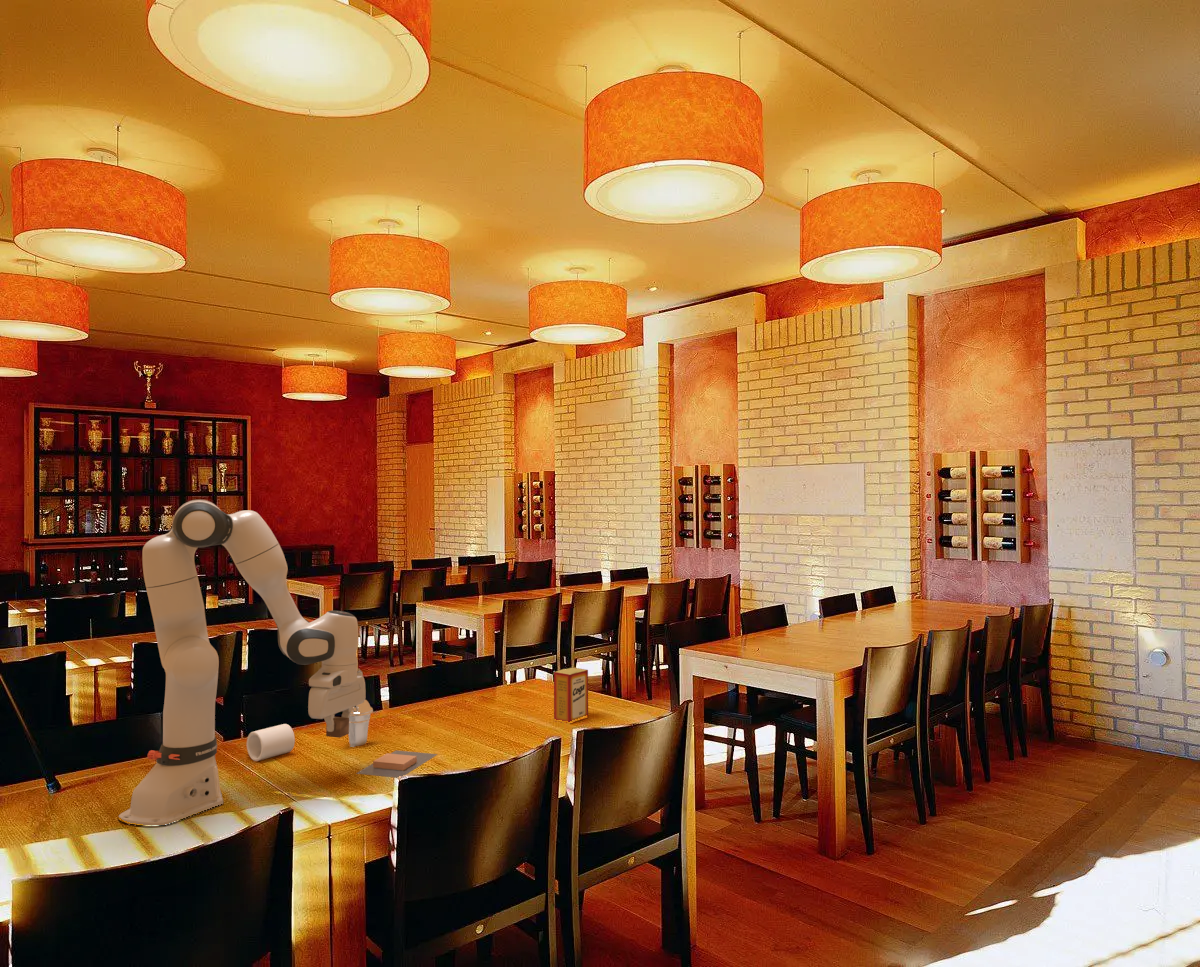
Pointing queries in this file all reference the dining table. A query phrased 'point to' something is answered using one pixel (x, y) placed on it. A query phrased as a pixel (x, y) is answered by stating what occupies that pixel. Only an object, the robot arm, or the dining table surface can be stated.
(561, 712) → the baking soda box
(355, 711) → the cup with straw
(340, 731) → the walnut cube
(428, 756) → the slate board
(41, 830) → the dining table surface
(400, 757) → the tile
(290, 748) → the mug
